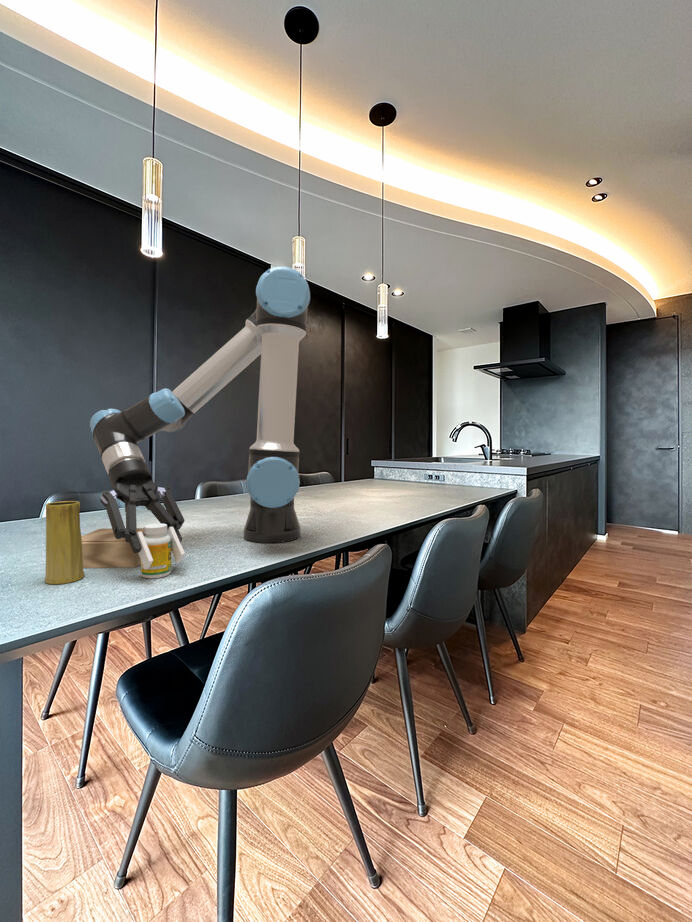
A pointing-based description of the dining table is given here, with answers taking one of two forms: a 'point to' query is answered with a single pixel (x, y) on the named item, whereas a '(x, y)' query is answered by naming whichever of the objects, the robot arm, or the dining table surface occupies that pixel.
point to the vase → (63, 543)
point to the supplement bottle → (157, 551)
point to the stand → (108, 550)
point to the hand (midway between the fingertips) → (165, 561)
